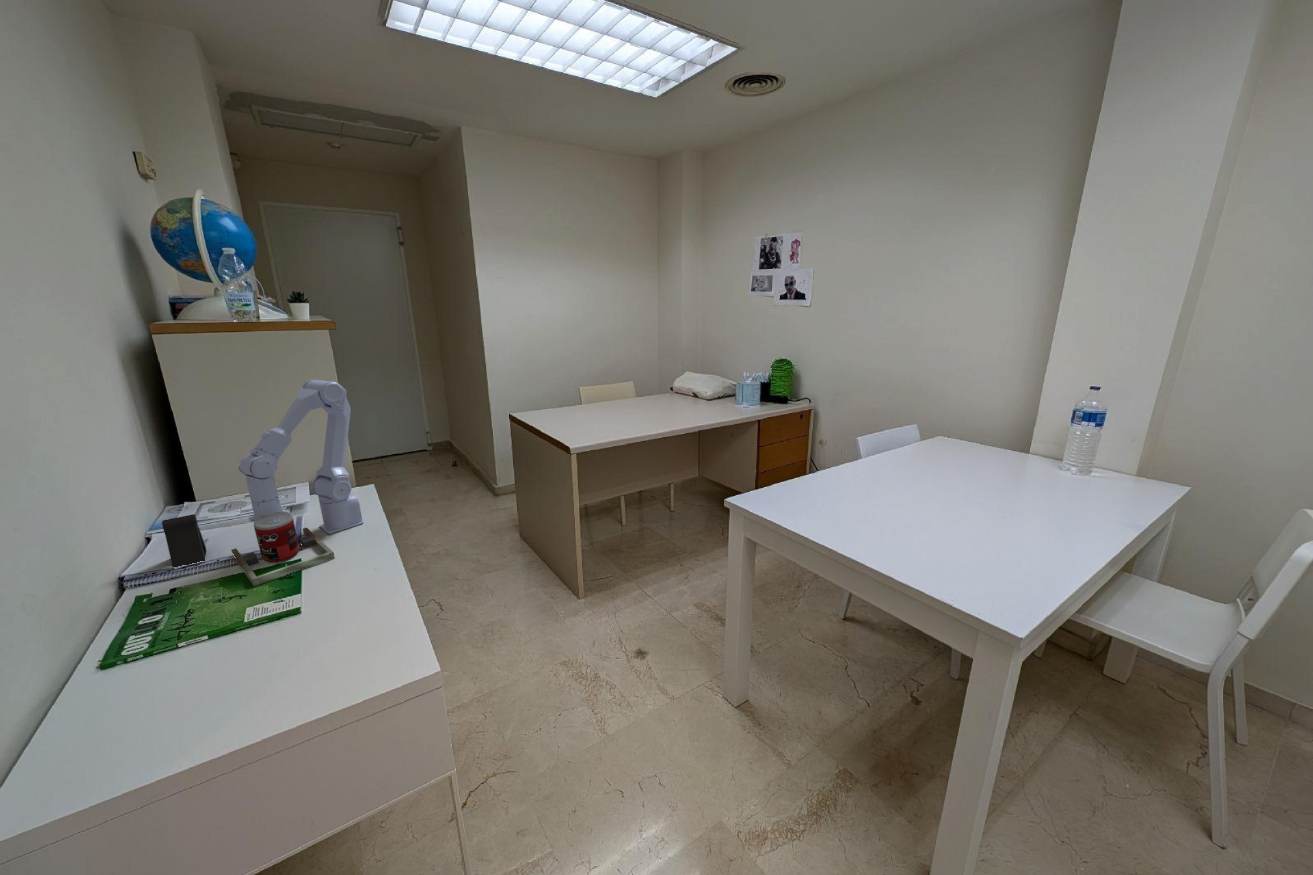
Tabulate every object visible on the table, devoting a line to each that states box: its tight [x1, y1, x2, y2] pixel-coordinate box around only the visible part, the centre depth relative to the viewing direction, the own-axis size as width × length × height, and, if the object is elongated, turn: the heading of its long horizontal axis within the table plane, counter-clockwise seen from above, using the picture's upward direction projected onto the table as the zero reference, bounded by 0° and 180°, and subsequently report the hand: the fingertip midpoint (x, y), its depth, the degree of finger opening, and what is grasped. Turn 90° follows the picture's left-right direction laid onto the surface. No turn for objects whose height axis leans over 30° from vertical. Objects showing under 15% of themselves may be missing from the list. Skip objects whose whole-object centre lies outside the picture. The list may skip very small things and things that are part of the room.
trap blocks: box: [241, 535, 316, 567], centre depth 129 cm, size 15×4×2 cm, turn 141°
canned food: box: [253, 511, 300, 564], centre depth 125 cm, size 8×8×11 cm
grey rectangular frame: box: [231, 527, 336, 587], centre depth 127 cm, size 17×22×2 cm
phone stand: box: [161, 513, 207, 568], centre depth 124 cm, size 9×6×12 cm, turn 40°
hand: (275, 545), depth 129 cm, fingers closed, pressing on canned food
